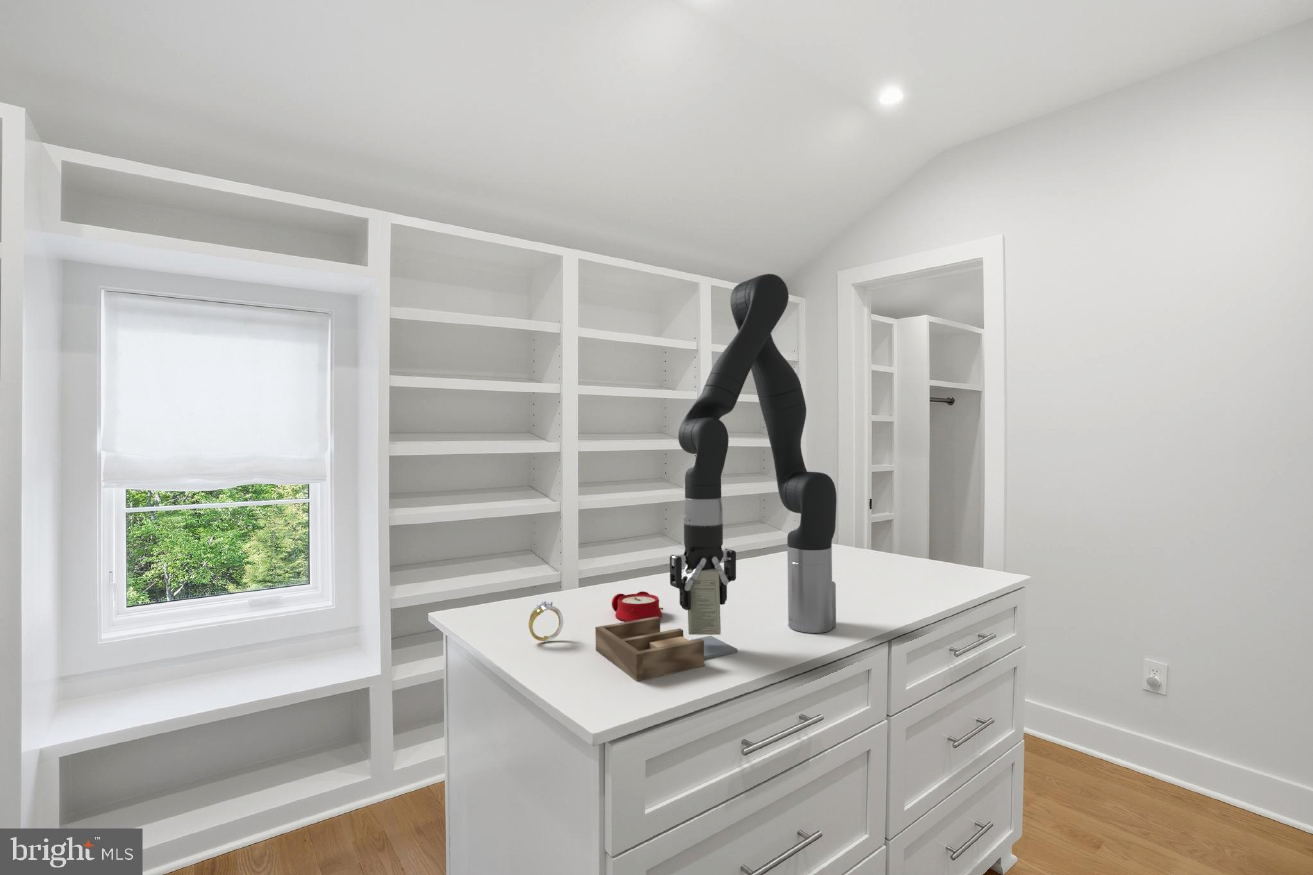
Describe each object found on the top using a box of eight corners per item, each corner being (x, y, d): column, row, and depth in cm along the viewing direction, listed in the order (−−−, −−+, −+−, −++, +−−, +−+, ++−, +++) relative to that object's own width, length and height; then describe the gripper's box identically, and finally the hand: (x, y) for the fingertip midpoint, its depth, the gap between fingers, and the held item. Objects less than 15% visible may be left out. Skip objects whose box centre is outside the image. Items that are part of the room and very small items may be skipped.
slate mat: (710, 638, 125) (710, 635, 125) (737, 652, 117) (737, 648, 117) (672, 646, 120) (672, 643, 120) (697, 660, 113) (697, 657, 113)
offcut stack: (685, 656, 116) (685, 634, 116) (698, 664, 112) (698, 642, 112) (647, 664, 112) (647, 642, 112) (660, 672, 108) (659, 649, 108)
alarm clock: (624, 610, 133) (606, 579, 147) (622, 637, 135) (604, 604, 149) (670, 605, 137) (648, 575, 151) (668, 631, 138) (646, 599, 152)
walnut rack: (657, 638, 125) (657, 616, 125) (704, 665, 110) (704, 640, 110) (595, 650, 119) (595, 627, 119) (636, 681, 103) (636, 654, 103)
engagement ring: (530, 646, 121) (529, 605, 121) (527, 641, 124) (527, 601, 124) (564, 641, 124) (564, 602, 124) (561, 637, 127) (561, 598, 127)
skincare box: (720, 628, 120) (720, 566, 120) (720, 635, 116) (720, 571, 116) (687, 627, 121) (687, 565, 121) (686, 634, 117) (686, 570, 117)
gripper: (681, 526, 112) (682, 616, 112) (745, 520, 119) (745, 606, 119) (661, 521, 118) (661, 606, 118) (722, 516, 125) (723, 597, 125)
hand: (703, 606), depth 119 cm, fingers closed on skincare box, 7 cm apart
